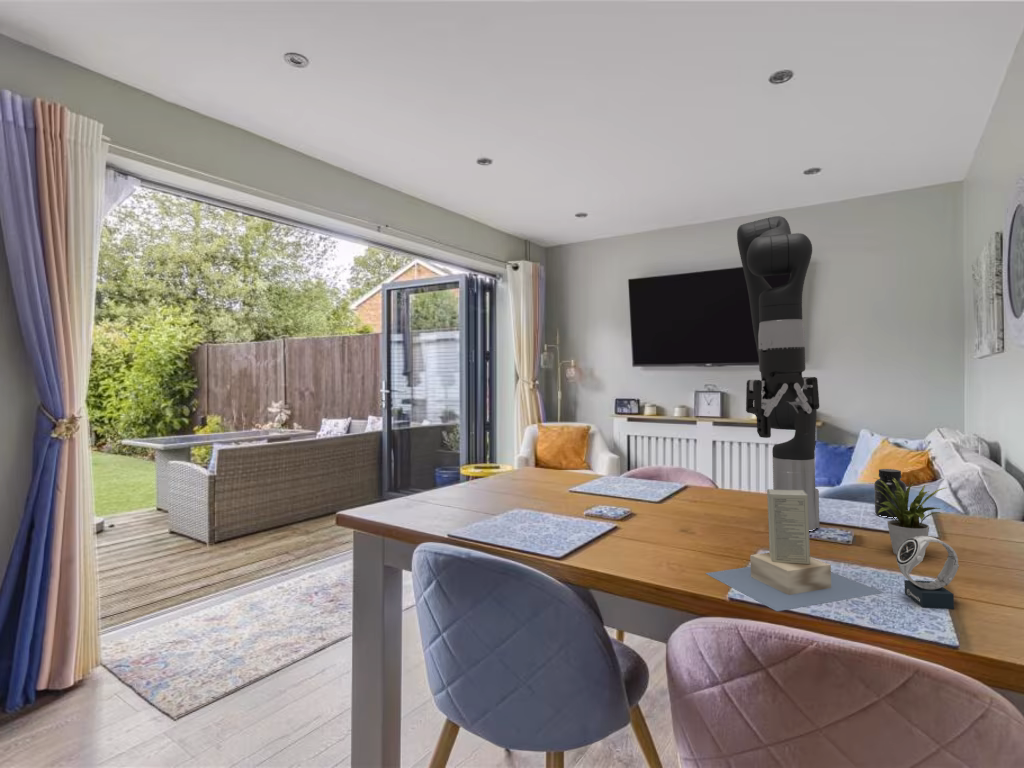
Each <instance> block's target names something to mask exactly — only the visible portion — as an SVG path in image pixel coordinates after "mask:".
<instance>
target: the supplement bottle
mask: <svg viewBox="0 0 1024 768" xmlns="http://www.w3.org/2000/svg"><path fill="white" fill-rule="evenodd" d="M878 477H879V478H878V479H879V480H881V481H883V482H884V483H885V484H886V485H887V486H888V487H889V489H890V490H891V492H892V493H893V495H894V497H895V498H896V500H897V501H898V499H897V497H896V495H895V491H897V487H896V485H895V483H894V482H893V480H894V478H895V479H896V480H897V481H898V483H899V486H900V487H901V488H902V489H903V491H904V493H906V490H907V484H906V483H905V482H904V481H903V480H901V479H902V471H901V470H899V469H894V468H893V469H892V468H879V469H878ZM879 480H877V479H876V480H875V481H874V484H873V486H874V488H875V489H874V513H876V514H877V515H881V516H887V517H892V516H893V517H896V515H895V514H894V512H893V511H892V510H891V508H889V509H888V510H887V511H888V512H889V513H890V514H891V515H892V516H891V515H890V514H889V513H888V512H887V511H886V510H885V511H882V512H879V510H880V509H881V508H882V507H883V508H888V506H887V505H885V504H881V503H883V502H889V501H888V500H887V498H888V499H889V500H890V502H891V503H892V504H893V505H894V506H895V507H896V508H897V509H898V510H899V508H898V506H897V505H896V503H895V502H894V500H893V499H892V498H891V496H890V495H889V494H888V493H887V492H886V491H885V490H884V489H883V488H881V487H880V486H882V487H884V488H885V489H887V488H886V487H885V485H884V484H883V483H882V482H881V481H879ZM894 481H895V480H894ZM875 484H878V485H880V486H878V485H875ZM876 489H878V490H880V491H881V492H883V493H884V494H885V495H886V496H887V498H886V497H885V496H884V495H883V494H882V493H881V492H880V491H878V490H876ZM898 503H899V502H898ZM876 504H877V505H876ZM880 506H881V507H880ZM878 512H879V513H878ZM876 514H875V515H876ZM877 515H876V516H877Z"/></svg>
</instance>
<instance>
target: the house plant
mask: <svg viewBox="0 0 1024 768" xmlns="http://www.w3.org/2000/svg"><path fill="white" fill-rule="evenodd" d="M874 479H876V480H879V479H880V478H876V477H874ZM894 480H895V481H894ZM894 480H893V482H894V483H895V485H896V487H897V491H895V495H896V497H897V499H898V501H897V500H896V498H895V497H894V495H893V493H892V492H891V490H890V489H889V487H888V486H887V485H886V484H885V483H884V482H883V481H881V480H879V481H881V482H882V483H883V484H884V485H885V487H886V488H887V489H885V488H884V487H882V486H880V485H878V484H875V483H871V482H869V484H870V485H871V484H872V485H878V486H880V487H881V488H883V489H884V490H885V491H886V492H887V493H888V494H889V495H890V496H891V498H892V499H893V500H894V502H895V503H896V505H897V506H898V508H899V510H898V509H897V508H896V507H895V506H894V505H893V504H892V503H891V502H890V500H889V499H888V498H887V496H886V495H885V494H884V493H883V492H881V491H880V490H878V489H876V490H878V491H880V492H881V493H882V494H883V495H884V496H885V497H886V498H887V500H888V501H889V502H883V503H881V504H885V505H887V506H888V508H883V507H882V508H881V509H880V510H879V512H882V511H885V510H886V511H887V510H888V509H889V508H891V510H892V511H893V512H894V514H895V515H896V517H897V518H898V519H895V518H894V517H893V516H892V515H891V514H890V513H889V512H888V511H887V512H888V513H889V514H890V515H891V516H892V517H893V518H894V519H891V520H888V521H887V522H886V523H887V528H888V533H889V537H890V543H891V547H892V552H893V554H894V555H897V551H898V549H899V547H900V546H901V544H902V543H903V542H904V541H906V540H907V539H909V538H914V537H918V536H929V532H930V525H928V524H927V523H924V522H923V521H924V520H925V519H926V518H927V517H929V516H931V515H936V514H941V512H937V511H936V512H935V511H934V510H941V509H942V508H940V507H933V506H930V507H928V506H927V507H924V506H923V505H924V504H925V503H926V502H927V500H929V499H930V498H931V497H933V496H934V495H936V494H937V493H938V492H939V491H943V490H944V489H946V487H942V488H939V489H936V490H935V491H933V492H931V493H930V494H929V495H928V496H926V494H928V492H930V491H929V490H928V491H925V486H926V485H925V484H924V485H923V486H922V488H921V489H920V490H919V493H918V495H917V496H915V498H914V499H913V501H911V503H910V505H909V497H910V496H909V495H910V491H911V487H912V486H913V485H914V484H915V483H916V481H914V482H913V483H912V484H910V483H911V482H912V480H913V478H911V479H910V481H909V484H908V486H907V487H906V493H904V491H903V489H902V488H901V487H900V486H899V483H898V481H897V480H896V479H895V478H894ZM948 488H949V486H947V489H948ZM872 489H873V490H875V487H872ZM924 497H925V498H924ZM923 498H924V499H923ZM898 502H899V503H898ZM869 504H871V505H872V503H869ZM876 505H877V504H876ZM880 507H881V506H880ZM932 510H933V511H934V512H931V513H928V514H927V515H925V513H926V512H927V511H932ZM879 512H878V513H879ZM920 520H921V521H920Z"/></svg>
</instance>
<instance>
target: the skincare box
mask: <svg viewBox="0 0 1024 768" xmlns="http://www.w3.org/2000/svg"><path fill="white" fill-rule="evenodd" d="M766 492H767V493H766V496H767V498H766V499H767V518H768V519H767V520H768V521H767V522H768V545H769V546H768V548H769V552H768V553H770V557H771V560H772V562H784V563H798V564H810V557H811V550H810V548H811V546H810V532H809V517H808V495H807V494H806V492H805V491H804V490H774V489H773V488H769V489H766Z"/></svg>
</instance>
